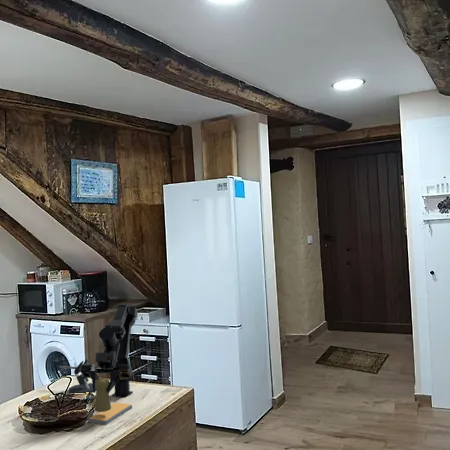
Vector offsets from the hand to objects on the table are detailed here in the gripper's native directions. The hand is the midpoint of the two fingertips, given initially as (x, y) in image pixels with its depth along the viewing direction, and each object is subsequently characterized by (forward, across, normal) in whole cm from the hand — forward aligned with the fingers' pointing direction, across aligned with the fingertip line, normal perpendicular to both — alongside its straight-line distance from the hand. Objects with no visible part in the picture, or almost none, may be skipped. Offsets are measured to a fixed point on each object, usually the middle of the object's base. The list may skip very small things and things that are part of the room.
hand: (101, 392), depth 188 cm
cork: (+4, 0, +6) cm, 7 cm away
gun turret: (-16, -24, +32) cm, 43 cm away
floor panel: (+3, +1, +12) cm, 12 cm away
